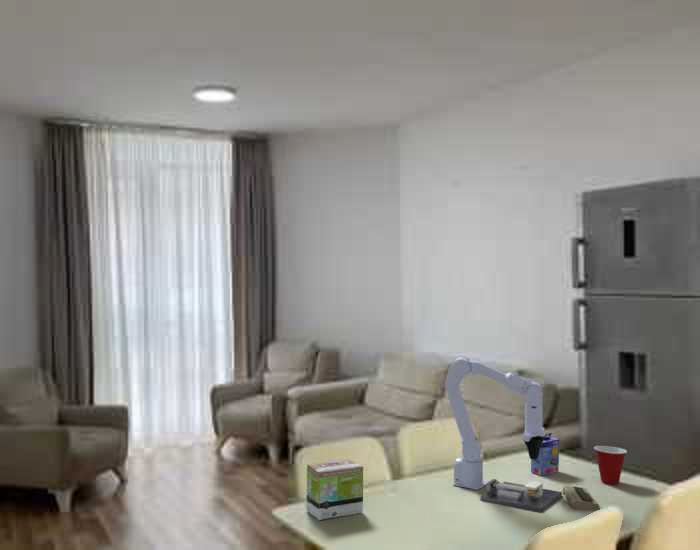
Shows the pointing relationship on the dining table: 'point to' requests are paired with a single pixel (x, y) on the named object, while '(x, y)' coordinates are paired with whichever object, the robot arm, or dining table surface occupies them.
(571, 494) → the computer
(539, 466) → the ink cartridge box
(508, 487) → the grey flat bar
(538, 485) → the block
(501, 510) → the dining table surface
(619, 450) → the plastic cup
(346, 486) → the tea box
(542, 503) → the base
